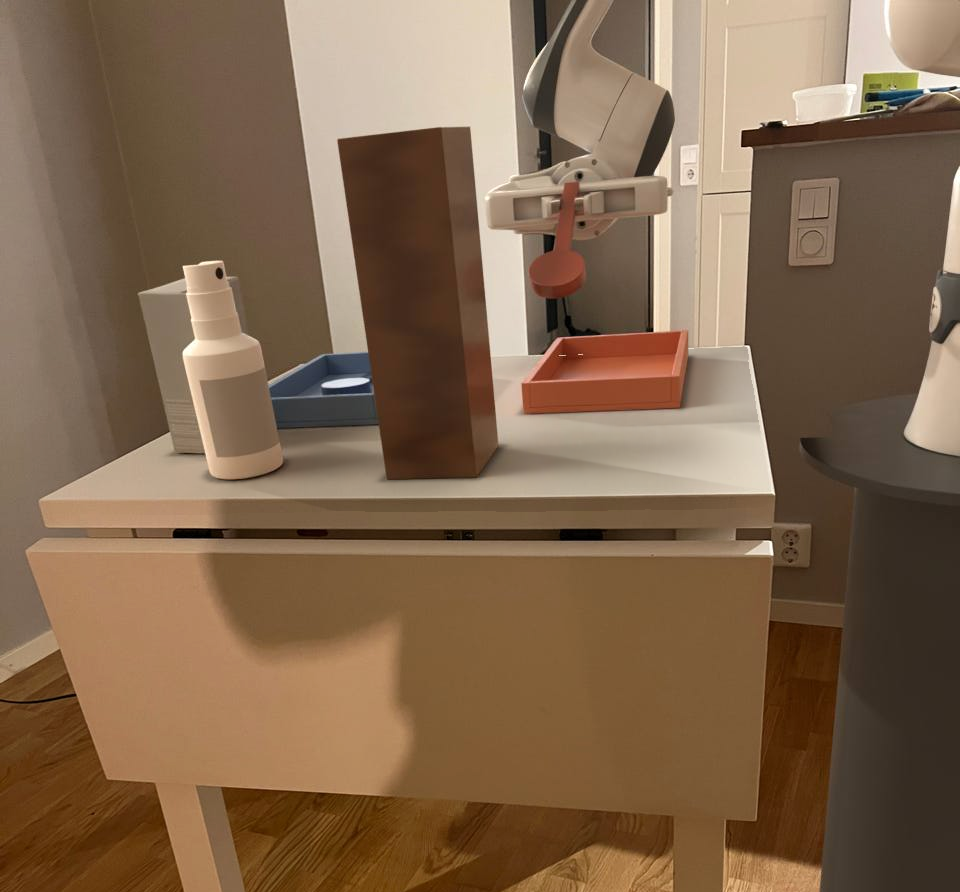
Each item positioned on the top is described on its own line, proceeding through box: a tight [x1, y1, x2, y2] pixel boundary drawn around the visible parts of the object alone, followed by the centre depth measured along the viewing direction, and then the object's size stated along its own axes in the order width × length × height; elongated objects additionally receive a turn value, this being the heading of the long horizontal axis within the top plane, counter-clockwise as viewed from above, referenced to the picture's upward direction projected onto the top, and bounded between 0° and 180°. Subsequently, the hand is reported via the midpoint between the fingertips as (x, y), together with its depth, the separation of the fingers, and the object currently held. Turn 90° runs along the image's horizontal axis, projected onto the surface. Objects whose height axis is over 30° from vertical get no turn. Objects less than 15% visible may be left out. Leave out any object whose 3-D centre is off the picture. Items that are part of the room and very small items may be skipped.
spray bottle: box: [182, 260, 284, 480], centre depth 85 cm, size 7×7×18 cm
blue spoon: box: [321, 372, 372, 395], centre depth 115 cm, size 6×18×2 cm, turn 167°
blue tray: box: [268, 351, 379, 429], centre depth 110 cm, size 16×24×3 cm, turn 167°
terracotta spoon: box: [528, 182, 587, 300], centre depth 98 cm, size 6×18×2 cm
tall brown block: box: [336, 125, 499, 480], centre depth 79 cm, size 8×9×26 cm
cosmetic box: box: [137, 276, 250, 454], centre depth 95 cm, size 8×7×16 cm
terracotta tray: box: [520, 329, 689, 415], centre depth 105 cm, size 16×24×3 cm, turn 167°
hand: (567, 207), depth 100 cm, fingers closed on terracotta spoon, 2 cm apart
